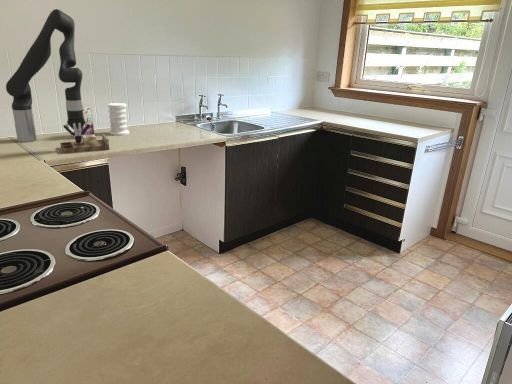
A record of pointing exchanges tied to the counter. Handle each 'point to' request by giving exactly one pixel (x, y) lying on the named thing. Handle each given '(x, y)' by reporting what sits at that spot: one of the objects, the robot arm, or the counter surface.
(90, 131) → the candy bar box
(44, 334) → the counter surface
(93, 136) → the maple block
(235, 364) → the counter surface
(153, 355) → the counter surface
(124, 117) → the decorative container
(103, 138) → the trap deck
